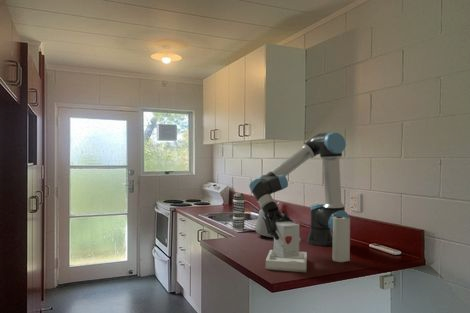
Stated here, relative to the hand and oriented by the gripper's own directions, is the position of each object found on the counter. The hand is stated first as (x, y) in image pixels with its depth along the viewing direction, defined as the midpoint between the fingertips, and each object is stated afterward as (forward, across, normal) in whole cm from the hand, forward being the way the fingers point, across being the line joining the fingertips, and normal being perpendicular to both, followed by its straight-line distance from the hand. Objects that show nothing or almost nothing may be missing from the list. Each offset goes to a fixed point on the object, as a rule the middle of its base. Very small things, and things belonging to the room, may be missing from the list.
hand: (291, 243), depth 157 cm
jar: (-26, -33, -42) cm, 59 cm away
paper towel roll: (+14, -26, -1) cm, 29 cm away
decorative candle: (-47, -30, -62) cm, 84 cm away
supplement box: (+2, 0, -7) cm, 7 cm away
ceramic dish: (+6, 0, -10) cm, 11 cm away
